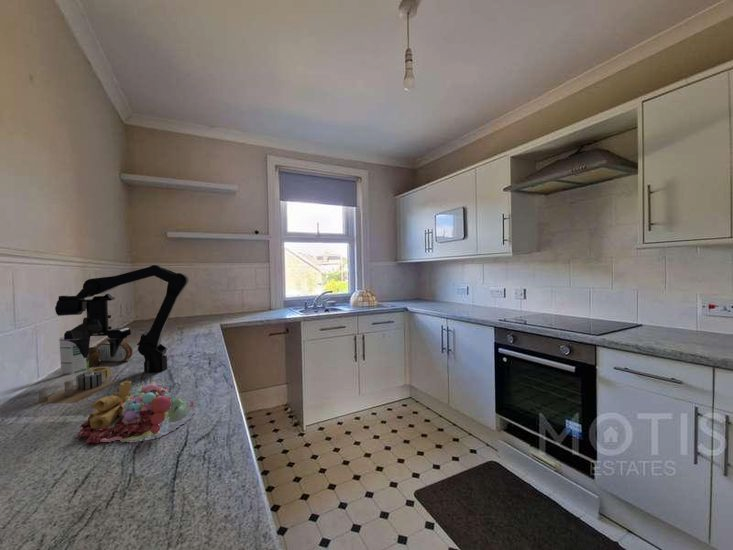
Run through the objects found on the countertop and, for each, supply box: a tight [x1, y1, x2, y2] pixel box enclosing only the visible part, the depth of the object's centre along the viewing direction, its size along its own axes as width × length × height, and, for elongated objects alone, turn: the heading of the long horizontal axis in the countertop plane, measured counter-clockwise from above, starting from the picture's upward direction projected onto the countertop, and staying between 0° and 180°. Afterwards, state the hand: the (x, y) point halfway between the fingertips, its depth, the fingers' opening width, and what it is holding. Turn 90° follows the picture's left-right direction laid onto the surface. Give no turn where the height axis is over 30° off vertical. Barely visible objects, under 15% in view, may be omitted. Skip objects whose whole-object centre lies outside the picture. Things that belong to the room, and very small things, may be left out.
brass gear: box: [86, 366, 112, 380], centre depth 110 cm, size 6×6×4 cm
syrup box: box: [58, 336, 90, 376], centre depth 117 cm, size 6×6×14 cm
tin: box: [96, 340, 133, 363], centre depth 133 cm, size 15×3×8 cm, turn 85°
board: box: [33, 380, 118, 405], centre depth 98 cm, size 12×16×6 cm
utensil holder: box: [88, 338, 100, 368], centre depth 127 cm, size 6×6×12 cm
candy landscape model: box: [77, 380, 195, 444], centre depth 82 cm, size 25×24×9 cm
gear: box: [75, 371, 103, 390], centre depth 101 cm, size 6×6×4 cm
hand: (99, 357), depth 110 cm, fingers open, 9 cm apart
